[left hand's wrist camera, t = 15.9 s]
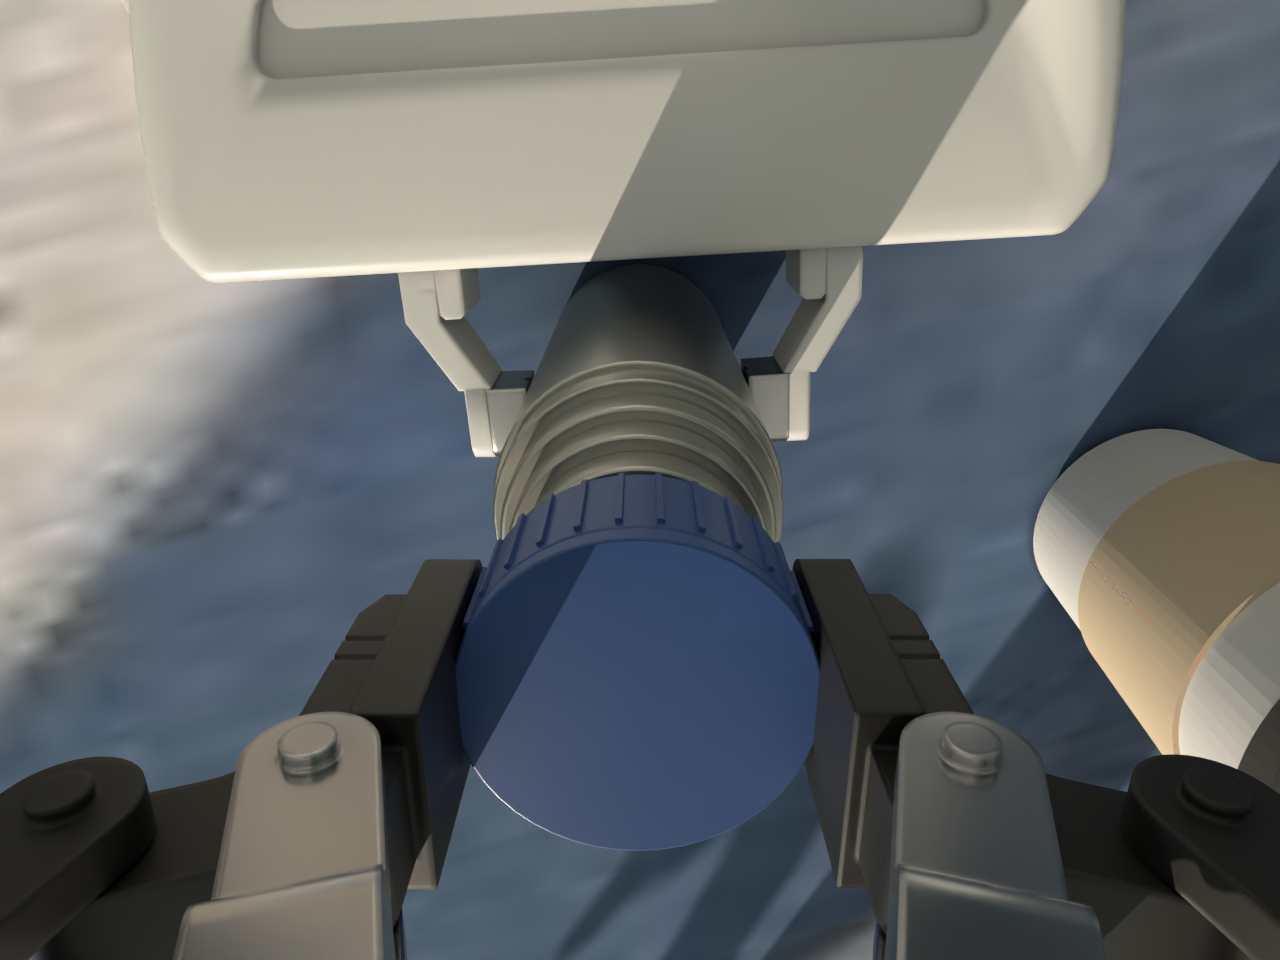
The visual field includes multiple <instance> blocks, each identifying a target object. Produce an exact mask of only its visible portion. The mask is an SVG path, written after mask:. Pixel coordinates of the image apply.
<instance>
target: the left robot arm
mask: <svg viewBox="0 0 1280 960" xmlns="http://www.w3.org/2000/svg"><path fill="white" fill-rule="evenodd" d="M482 569H483V568H482V564H481V561H480V560H425V561H424V563H423V564H422V566H421V568H420V570H419V572H418V574H417V576H416V578H415V580H414V582H413V584H412V586H411V588H410V590H409V592H408V594H407V595H384V596H383V597H382V598H380V599H379V600H377V601H376V602H375V603H373V604H372V605H371V606H369V607H368V608H366V609H365V610H364V611H362V612H361V613H359V614H358V616H357V618H356V620H355V621H354V623H353V625H352V626H351V628H350V630H349V632H348V633H347V635H346V640H345V641H343V642H342V643H341V645H340V647H339V649H338V650H337V652H336V654H335V659H334V660H332V661H331V662H330V664H329V666H328V667H327V669H326V671H325V673H324V674H323V676H322V678H321V679H320V681H319V683H318V684H317V686H316V688H315V690H314V691H313V693H312V695H311V696H310V698H309V700H308V702H307V703H306V705H305V707H304V708H303V710H302V712H301V713H300V715H299V716H298V717H295V718H292V719H289V720H286V721H284V722H282V723H279V724H277V725H275V726H273V727H271V728H269V729H268V730H266V731H265V732H263V733H262V734H260V735H259V736H257V737H256V738H255V739H254V740H253V741H252V742H250V743H249V745H248V746H247V747H246V748H245V749H244V750H243V752H242V754H241V755H240V757H239V759H238V762H237V765H236V770H235V772H233V773H230V774H227V775H224V776H221V777H218V778H215V779H211V780H207V781H203V782H198V783H193V784H188V785H184V786H179V787H174V788H170V789H165V790H160V791H156V792H151V793H149V791H148V787H147V783H146V779H145V776H144V773H143V771H142V770H141V769H140V768H139V766H137V765H136V764H134V763H133V762H131V761H128V760H125V759H122V758H116V757H90V758H83V759H78V760H73V761H69V762H65V763H61V764H58V765H55V766H53V767H50V768H47V769H44V770H42V771H40V772H37V773H35V774H33V775H31V776H29V777H27V778H25V779H23V780H21V781H20V782H18V783H16V784H15V785H13V786H12V787H10V788H8V789H7V790H5V791H4V792H3V793H1V794H0V960H407V947H406V935H405V928H404V920H403V912H402V904H403V901H404V898H405V895H406V891H407V889H437V887H438V883H439V880H440V876H441V872H442V868H443V865H444V861H445V857H446V854H447V850H448V846H449V842H450V839H451V835H452V831H453V827H454V824H455V820H456V816H457V813H458V809H459V805H460V801H461V798H462V794H463V790H464V786H465V783H466V779H467V775H468V771H469V768H470V764H471V762H470V760H469V758H468V757H467V755H466V753H465V751H464V749H463V747H462V738H461V727H460V716H459V705H458V693H457V682H456V670H455V661H456V658H457V654H458V651H459V647H460V644H461V641H462V639H463V636H464V633H465V630H466V629H465V628H462V627H461V626H462V623H463V621H464V618H465V615H466V612H467V610H468V607H469V604H470V601H471V599H472V596H473V593H474V590H475V588H476V585H477V582H478V580H479V577H480V574H481V571H482ZM793 570H794V573H795V575H796V578H797V581H798V584H799V587H800V590H801V592H802V595H803V598H804V601H805V604H806V607H807V609H808V612H809V615H810V618H811V621H812V624H813V627H814V629H815V631H814V632H811V633H810V634H811V637H812V640H813V643H814V646H815V649H816V652H817V655H818V658H819V662H820V671H819V684H818V695H817V707H816V718H815V730H814V741H813V746H812V748H811V750H810V752H809V754H808V757H807V759H806V761H805V766H806V770H807V774H808V778H809V782H810V785H811V789H812V793H813V797H814V801H815V805H816V808H817V812H818V816H819V820H820V824H821V828H822V831H823V835H824V839H825V843H826V847H827V851H828V854H829V858H830V862H831V866H832V870H833V874H834V877H835V881H836V885H837V888H867V891H868V894H869V897H870V901H871V904H872V907H873V911H874V914H875V917H876V919H877V920H876V928H875V935H874V948H873V960H1280V794H1279V793H1277V792H1276V791H1275V790H1273V789H1272V788H1270V787H1269V786H1267V785H1266V784H1264V783H1263V782H1261V781H1259V780H1258V779H1256V778H1254V777H1252V776H1250V775H1248V774H1247V773H1245V772H1242V771H1240V770H1238V769H1236V768H1233V767H1231V766H1228V765H1225V764H1222V763H1220V762H1217V761H1213V760H1209V759H1205V758H1201V757H1195V756H1190V755H1179V754H1168V755H1159V756H1154V757H1151V758H1148V759H1145V760H1144V761H1142V762H1140V763H1139V764H1138V765H1137V766H1136V767H1135V768H1134V771H1133V773H1132V776H1131V780H1130V784H1129V788H1128V792H1123V791H1118V790H1114V789H1109V788H1104V787H1100V786H1095V785H1090V784H1086V783H1081V782H1076V781H1071V780H1067V779H1063V778H1059V777H1055V776H1052V775H1049V774H1046V773H1045V770H1044V765H1043V762H1042V759H1041V757H1040V755H1039V754H1038V752H1037V750H1036V749H1035V748H1034V747H1033V746H1032V745H1031V743H1030V742H1028V741H1027V740H1026V739H1025V738H1024V737H1023V736H1021V735H1020V734H1018V733H1017V732H1015V731H1014V730H1012V729H1011V728H1009V727H1007V726H1005V725H1003V724H1001V723H998V722H996V721H994V720H991V719H988V718H985V717H982V716H978V715H975V714H974V713H973V711H972V709H971V707H970V706H969V704H968V702H967V701H966V699H965V697H964V695H963V694H962V692H961V690H960V688H959V687H958V685H957V683H956V681H955V680H954V678H953V676H952V675H951V673H950V671H949V669H948V668H947V666H946V664H945V662H944V661H943V659H940V654H939V652H938V650H937V648H936V647H935V645H934V643H933V642H932V640H929V635H928V633H927V631H926V629H925V628H924V626H923V624H922V622H921V621H920V619H919V617H918V615H917V614H916V613H915V612H914V611H912V610H911V609H910V608H908V607H907V606H906V605H904V604H903V603H901V602H900V601H899V600H897V599H896V598H895V597H893V596H892V595H890V594H867V592H866V589H865V587H864V585H863V583H862V581H861V579H860V577H859V575H858V573H857V571H856V569H855V567H854V565H853V563H852V562H851V560H850V559H796V560H795V562H794V565H793ZM793 570H792V571H793Z"/></svg>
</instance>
